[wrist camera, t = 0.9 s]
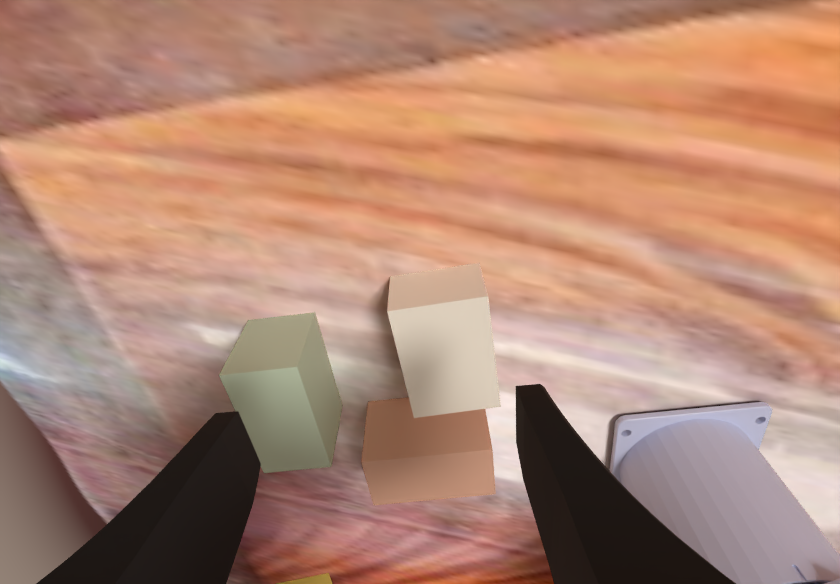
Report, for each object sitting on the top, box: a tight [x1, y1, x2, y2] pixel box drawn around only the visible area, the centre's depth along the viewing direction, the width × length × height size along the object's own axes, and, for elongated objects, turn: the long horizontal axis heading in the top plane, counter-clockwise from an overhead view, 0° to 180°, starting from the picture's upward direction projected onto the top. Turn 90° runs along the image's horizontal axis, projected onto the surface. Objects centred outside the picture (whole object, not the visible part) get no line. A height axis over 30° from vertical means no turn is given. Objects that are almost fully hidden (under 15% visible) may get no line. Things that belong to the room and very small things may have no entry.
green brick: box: [219, 313, 343, 473], centre depth 22 cm, size 6×3×4 cm, turn 7°
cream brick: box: [387, 263, 501, 418], centre depth 21 cm, size 6×4×3 cm, turn 10°
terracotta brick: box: [361, 397, 496, 505], centre depth 24 cm, size 6×3×4 cm, turn 97°
